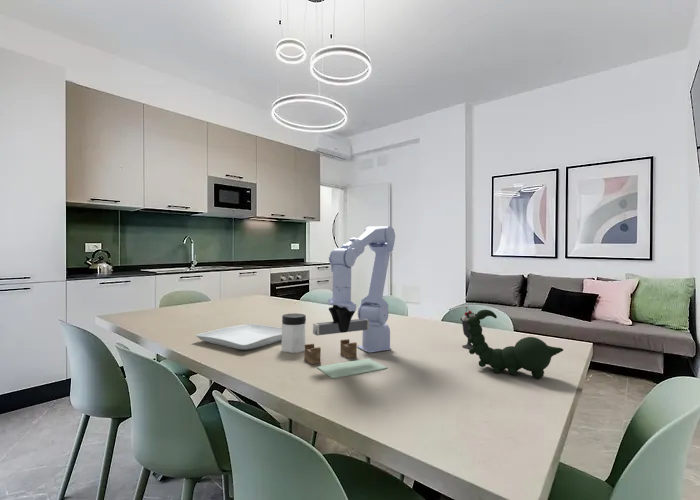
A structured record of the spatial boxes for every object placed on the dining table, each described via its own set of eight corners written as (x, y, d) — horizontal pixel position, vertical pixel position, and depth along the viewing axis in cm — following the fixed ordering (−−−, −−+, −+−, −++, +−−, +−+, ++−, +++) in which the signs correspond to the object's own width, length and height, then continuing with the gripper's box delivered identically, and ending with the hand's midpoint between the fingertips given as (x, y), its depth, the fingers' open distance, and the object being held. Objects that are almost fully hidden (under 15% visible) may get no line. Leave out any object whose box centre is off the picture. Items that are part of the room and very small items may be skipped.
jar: (286, 354, 122) (286, 318, 122) (277, 348, 129) (277, 314, 129) (310, 350, 127) (310, 316, 127) (300, 345, 134) (300, 312, 134)
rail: (363, 327, 119) (363, 318, 119) (368, 329, 117) (368, 320, 117) (312, 333, 110) (313, 323, 110) (317, 335, 108) (317, 325, 108)
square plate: (298, 339, 144) (298, 329, 144) (244, 356, 121) (244, 344, 121) (250, 330, 159) (250, 321, 159) (193, 343, 136) (193, 333, 136)
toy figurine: (467, 376, 108) (565, 386, 95) (462, 311, 109) (558, 312, 96) (475, 367, 116) (566, 375, 103) (470, 307, 117) (560, 307, 104)
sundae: (458, 348, 132) (459, 306, 132) (460, 344, 138) (461, 304, 138) (478, 350, 130) (478, 308, 130) (479, 346, 136) (479, 305, 136)
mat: (368, 359, 117) (368, 358, 117) (386, 368, 109) (386, 367, 109) (317, 368, 108) (317, 366, 108) (332, 378, 100) (332, 377, 100)
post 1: (313, 358, 118) (313, 343, 118) (320, 362, 114) (320, 347, 114) (304, 359, 117) (304, 344, 117) (311, 364, 112) (311, 348, 112)
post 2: (348, 352, 125) (348, 339, 125) (356, 357, 120) (356, 342, 120) (340, 354, 123) (340, 340, 123) (348, 358, 118) (348, 343, 118)
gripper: (320, 285, 118) (319, 327, 118) (341, 290, 105) (340, 337, 105) (339, 284, 121) (339, 325, 121) (362, 289, 109) (361, 334, 109)
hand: (341, 331), depth 114 cm, fingers closed on rail, 3 cm apart
